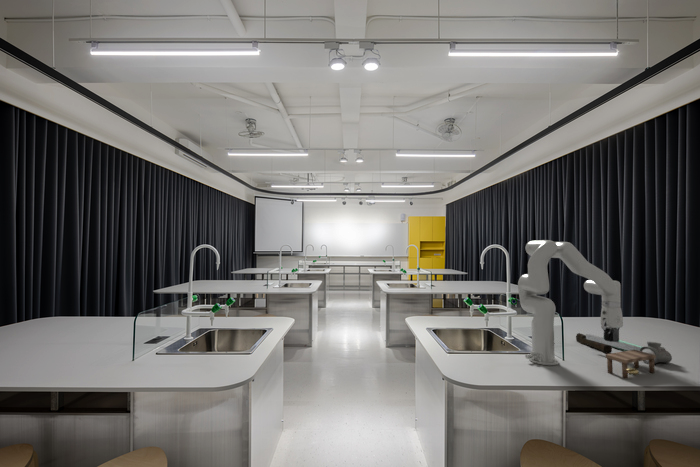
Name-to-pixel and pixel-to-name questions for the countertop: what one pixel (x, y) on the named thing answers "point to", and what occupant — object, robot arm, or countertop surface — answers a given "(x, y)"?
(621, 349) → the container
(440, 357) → the countertop surface
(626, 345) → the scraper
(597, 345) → the hand tool
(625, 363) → the bench
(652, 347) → the pipe fitting
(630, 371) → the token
